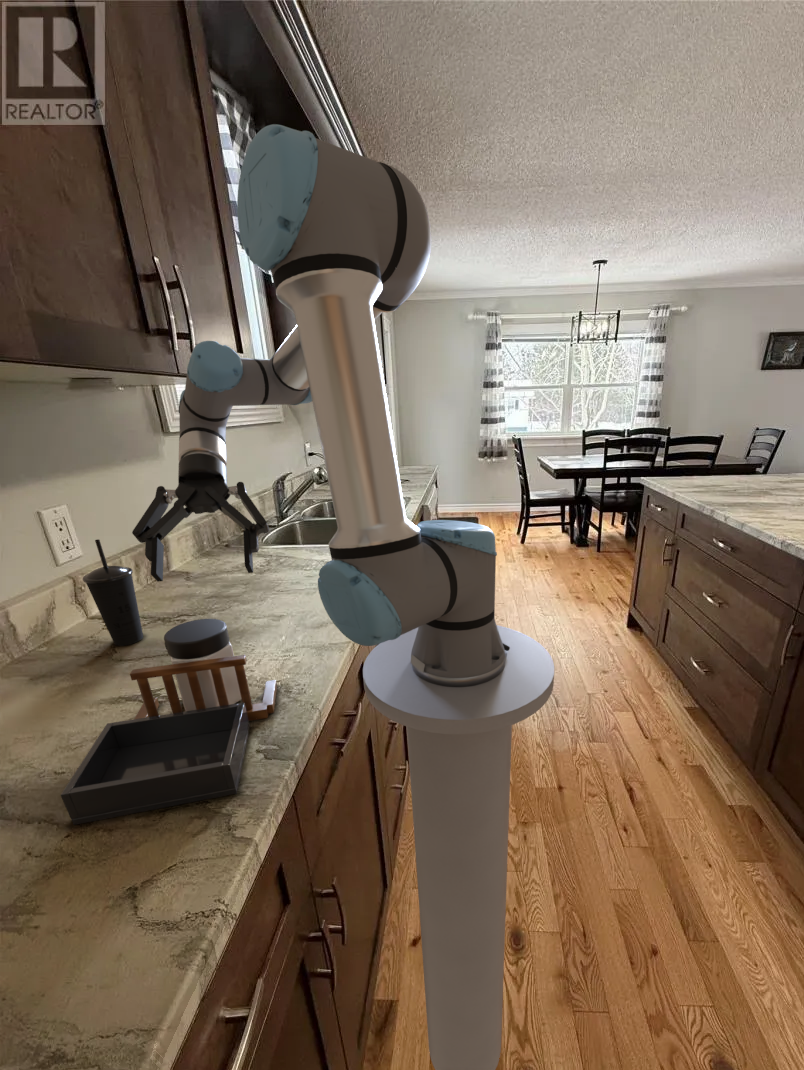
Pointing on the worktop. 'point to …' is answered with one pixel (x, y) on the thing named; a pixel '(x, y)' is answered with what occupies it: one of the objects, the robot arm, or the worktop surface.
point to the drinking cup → (116, 600)
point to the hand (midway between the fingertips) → (203, 573)
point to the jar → (202, 658)
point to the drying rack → (191, 669)
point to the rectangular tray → (159, 763)
